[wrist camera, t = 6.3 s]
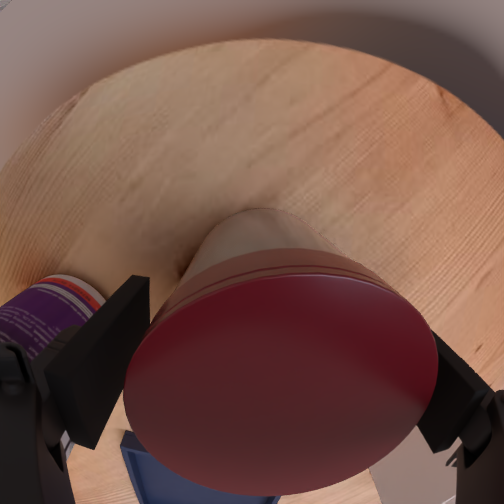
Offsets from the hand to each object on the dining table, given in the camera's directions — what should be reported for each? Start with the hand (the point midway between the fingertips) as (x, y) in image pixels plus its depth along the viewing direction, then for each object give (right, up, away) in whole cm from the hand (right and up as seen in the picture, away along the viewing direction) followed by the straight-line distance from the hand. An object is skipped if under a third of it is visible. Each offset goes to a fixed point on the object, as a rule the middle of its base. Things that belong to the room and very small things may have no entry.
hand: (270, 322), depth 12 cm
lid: (0, -1, -5) cm, 5 cm away
